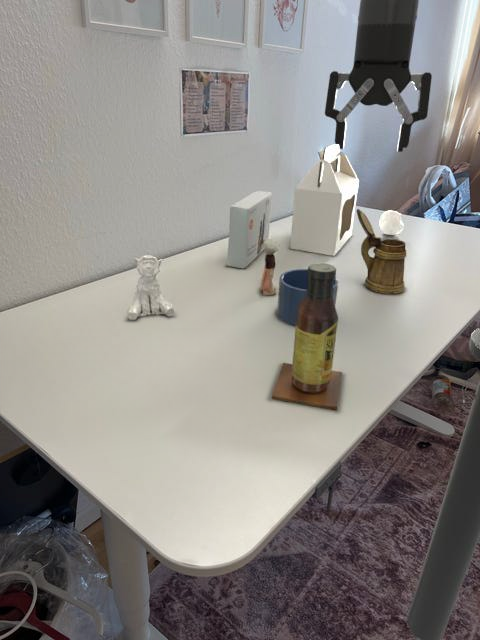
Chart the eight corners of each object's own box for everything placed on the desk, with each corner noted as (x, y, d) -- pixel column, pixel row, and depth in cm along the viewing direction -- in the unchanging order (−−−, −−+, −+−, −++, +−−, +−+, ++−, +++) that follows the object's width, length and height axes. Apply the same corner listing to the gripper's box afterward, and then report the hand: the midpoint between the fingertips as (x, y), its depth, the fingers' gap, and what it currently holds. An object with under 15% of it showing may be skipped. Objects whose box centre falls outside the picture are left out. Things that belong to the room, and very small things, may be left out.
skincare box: (246, 269, 123) (248, 208, 116) (226, 266, 125) (227, 206, 117) (270, 246, 141) (273, 191, 134) (252, 243, 142) (254, 189, 135)
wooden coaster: (341, 374, 81) (341, 371, 80) (336, 410, 72) (337, 407, 72) (283, 365, 83) (283, 362, 83) (271, 398, 74) (271, 395, 74)
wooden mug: (350, 274, 122) (359, 204, 113) (405, 283, 117) (419, 210, 109) (343, 287, 114) (353, 213, 106) (402, 297, 110) (417, 220, 102)
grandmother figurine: (256, 286, 114) (258, 234, 108) (271, 285, 114) (274, 233, 109) (264, 299, 107) (266, 245, 101) (280, 298, 108) (284, 244, 102)
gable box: (311, 229, 157) (320, 139, 144) (351, 235, 152) (364, 142, 139) (289, 249, 138) (297, 147, 126) (334, 256, 134) (347, 151, 121)
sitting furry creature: (127, 321, 96) (122, 265, 91) (125, 303, 103) (120, 250, 98) (174, 317, 98) (172, 261, 93) (168, 299, 106) (166, 247, 100)
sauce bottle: (329, 397, 74) (345, 278, 65) (288, 392, 75) (299, 274, 66) (329, 374, 80) (344, 261, 71) (292, 370, 81) (302, 258, 72)
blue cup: (336, 306, 105) (340, 272, 101) (331, 331, 94) (335, 294, 91) (282, 299, 107) (285, 266, 104) (272, 323, 97) (274, 286, 93)
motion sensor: (401, 239, 149) (406, 215, 146) (376, 236, 151) (380, 212, 148) (401, 232, 156) (405, 208, 153) (377, 230, 158) (381, 206, 155)
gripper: (330, 21, 63) (320, 151, 70) (446, 19, 59) (422, 155, 67) (334, 26, 69) (324, 144, 76) (439, 24, 66) (418, 148, 73)
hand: (370, 149), depth 72 cm, fingers open, 8 cm apart
